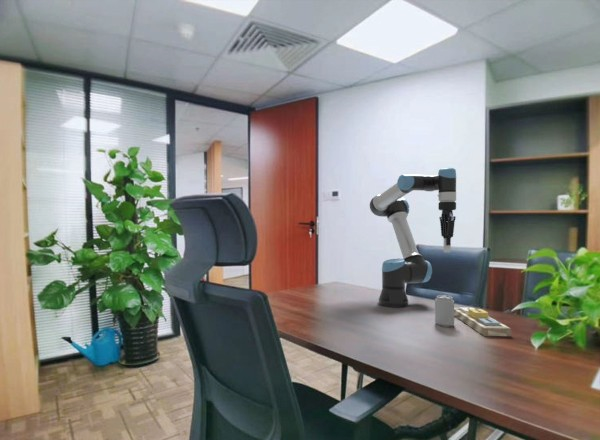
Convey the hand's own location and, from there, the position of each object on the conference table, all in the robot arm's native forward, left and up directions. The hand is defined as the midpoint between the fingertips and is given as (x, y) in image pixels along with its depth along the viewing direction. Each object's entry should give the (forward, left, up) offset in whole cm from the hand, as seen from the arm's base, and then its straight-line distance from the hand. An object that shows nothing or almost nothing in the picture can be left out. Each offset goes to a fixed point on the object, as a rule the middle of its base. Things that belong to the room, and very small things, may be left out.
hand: (447, 252), depth 157 cm
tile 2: (+13, +8, -27) cm, 31 cm away
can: (+14, -7, -30) cm, 34 cm away
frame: (+13, +8, -29) cm, 33 cm away
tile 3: (+22, +8, -28) cm, 37 cm away
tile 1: (+4, +8, -28) cm, 30 cm away
